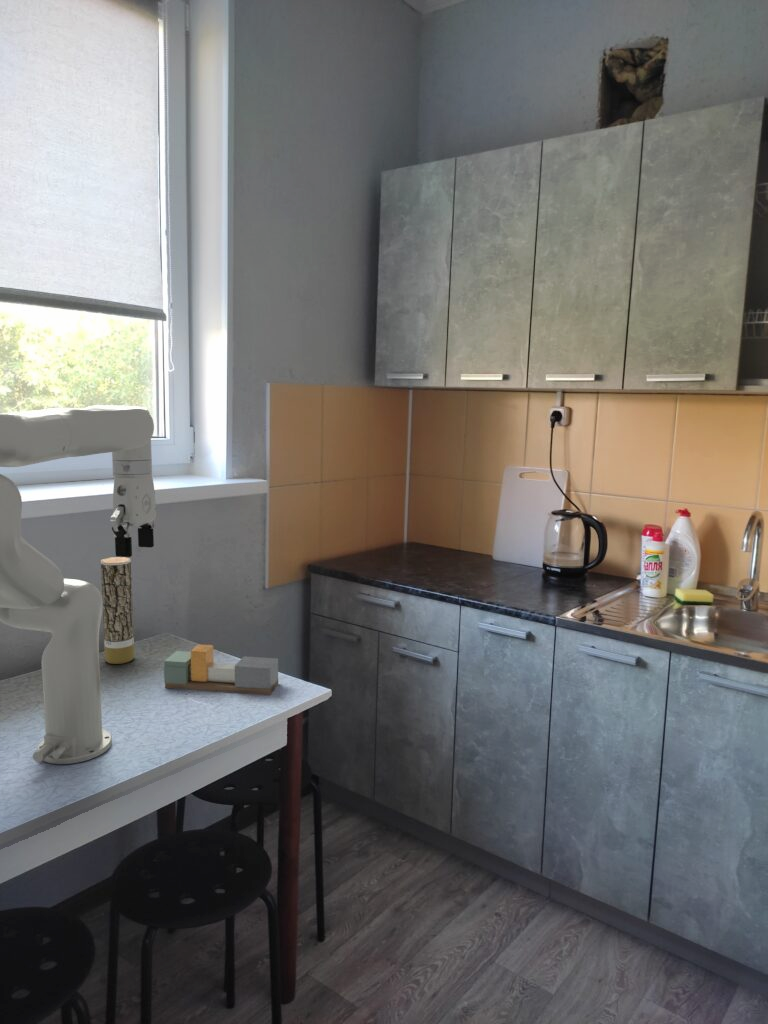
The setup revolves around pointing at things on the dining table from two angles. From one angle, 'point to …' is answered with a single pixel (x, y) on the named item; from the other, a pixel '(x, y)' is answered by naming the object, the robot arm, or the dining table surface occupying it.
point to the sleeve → (256, 672)
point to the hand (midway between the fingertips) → (135, 551)
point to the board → (220, 687)
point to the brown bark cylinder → (117, 610)
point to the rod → (209, 666)
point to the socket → (177, 667)
